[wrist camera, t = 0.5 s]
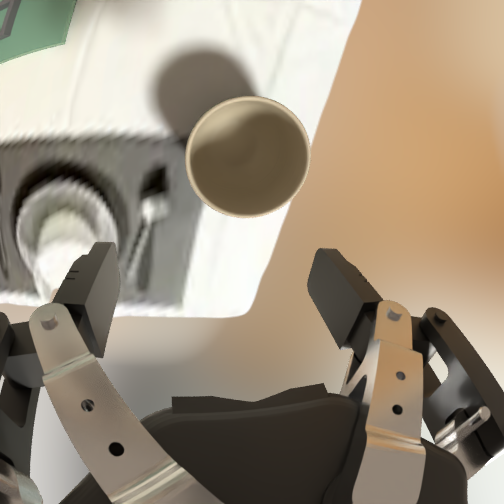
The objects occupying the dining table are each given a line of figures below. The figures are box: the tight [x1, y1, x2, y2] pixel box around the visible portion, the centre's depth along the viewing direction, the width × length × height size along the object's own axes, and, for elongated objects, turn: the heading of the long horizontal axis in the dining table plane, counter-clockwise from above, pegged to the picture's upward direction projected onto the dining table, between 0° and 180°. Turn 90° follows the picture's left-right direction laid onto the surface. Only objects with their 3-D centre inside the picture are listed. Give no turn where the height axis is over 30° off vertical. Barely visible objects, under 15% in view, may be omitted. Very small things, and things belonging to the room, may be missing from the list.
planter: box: [185, 96, 311, 218], centre depth 29 cm, size 12×12×11 cm
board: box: [0, 0, 77, 64], centre depth 13 cm, size 16×20×3 cm
